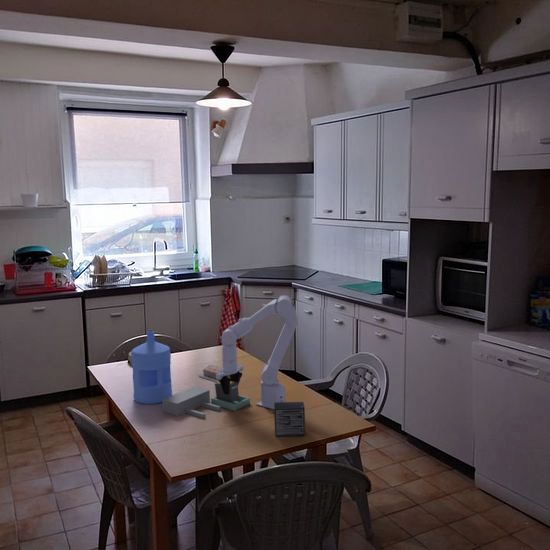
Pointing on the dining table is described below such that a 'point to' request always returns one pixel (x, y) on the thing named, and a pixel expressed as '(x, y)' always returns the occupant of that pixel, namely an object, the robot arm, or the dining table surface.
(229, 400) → the grey block orange panel
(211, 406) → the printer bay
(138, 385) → the water jug
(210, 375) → the packaged product
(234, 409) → the tray
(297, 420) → the small box
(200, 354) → the dining table surface
